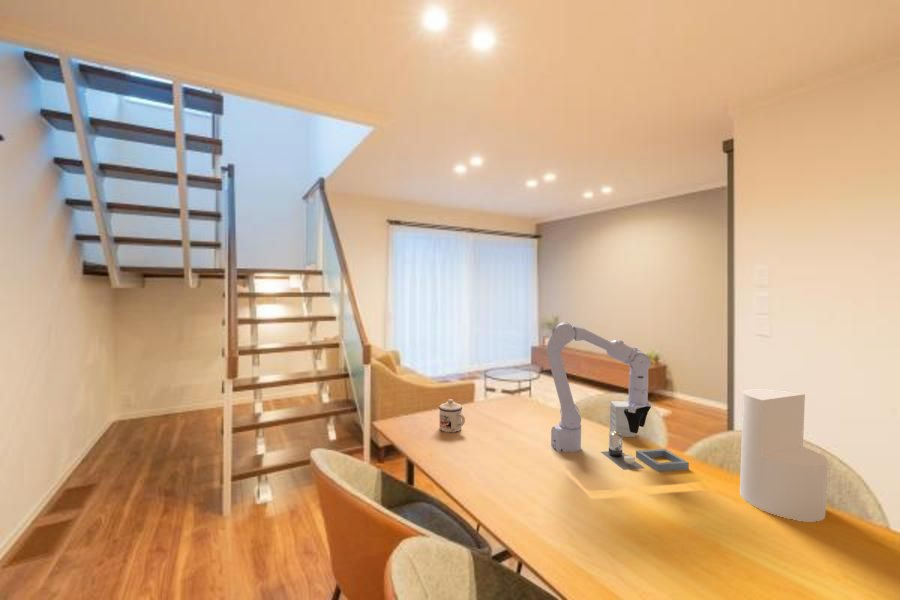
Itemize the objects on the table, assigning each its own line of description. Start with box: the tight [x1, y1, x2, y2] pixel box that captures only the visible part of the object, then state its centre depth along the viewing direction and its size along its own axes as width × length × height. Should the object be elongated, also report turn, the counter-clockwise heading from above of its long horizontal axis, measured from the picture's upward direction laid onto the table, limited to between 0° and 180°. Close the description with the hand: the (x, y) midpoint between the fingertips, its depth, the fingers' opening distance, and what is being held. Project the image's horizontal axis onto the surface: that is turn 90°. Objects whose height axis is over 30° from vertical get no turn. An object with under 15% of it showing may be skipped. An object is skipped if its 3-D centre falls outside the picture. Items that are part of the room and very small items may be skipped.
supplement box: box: [609, 400, 637, 438], centre depth 150 cm, size 7×7×13 cm
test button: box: [624, 454, 636, 464], centre depth 123 cm, size 3×3×2 cm
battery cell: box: [608, 431, 624, 458], centre depth 130 cm, size 4×4×8 cm
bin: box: [635, 448, 690, 472], centre depth 125 cm, size 10×10×4 cm
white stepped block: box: [739, 388, 829, 523], centre depth 104 cm, size 17×17×28 cm
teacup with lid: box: [438, 398, 466, 433], centre depth 156 cm, size 12×9×12 cm
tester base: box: [600, 450, 645, 471], centre depth 127 cm, size 13×7×2 cm, turn 9°
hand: (637, 429), depth 131 cm, fingers open, 7 cm apart
